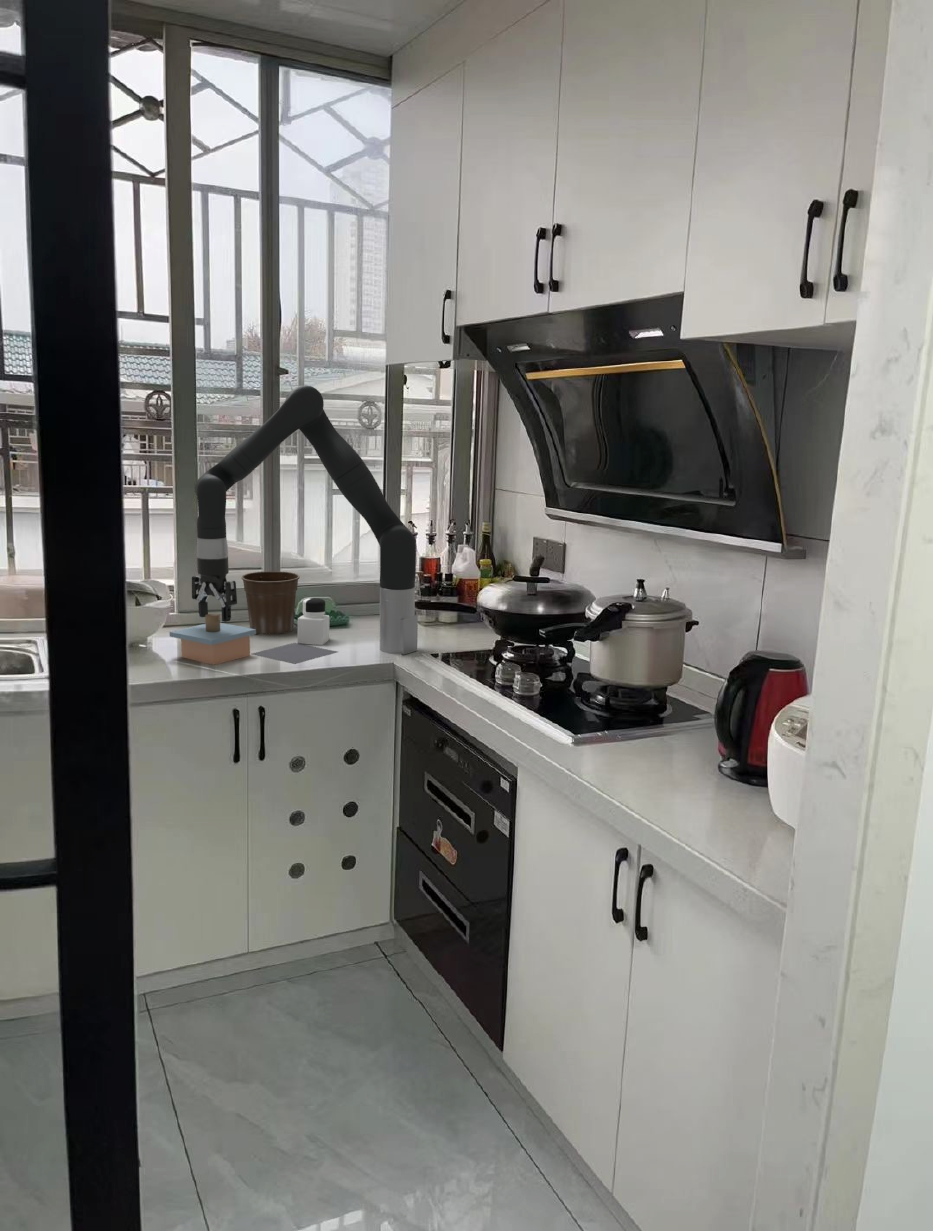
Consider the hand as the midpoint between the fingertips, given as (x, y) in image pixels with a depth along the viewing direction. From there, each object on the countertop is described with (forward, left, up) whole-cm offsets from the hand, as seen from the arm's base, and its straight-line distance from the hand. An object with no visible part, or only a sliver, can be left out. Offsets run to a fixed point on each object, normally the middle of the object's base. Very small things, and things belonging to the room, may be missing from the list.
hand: (214, 619), depth 245 cm
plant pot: (+11, -30, -10) cm, 34 cm away
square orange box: (0, 0, -10) cm, 10 cm away
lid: (0, +1, -4) cm, 4 cm away
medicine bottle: (-8, -27, -10) cm, 30 cm away
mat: (-13, -15, -10) cm, 22 cm away
